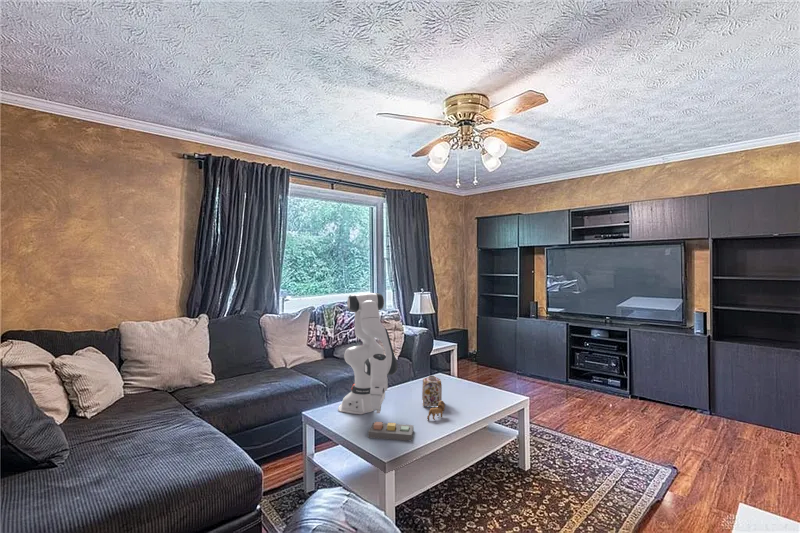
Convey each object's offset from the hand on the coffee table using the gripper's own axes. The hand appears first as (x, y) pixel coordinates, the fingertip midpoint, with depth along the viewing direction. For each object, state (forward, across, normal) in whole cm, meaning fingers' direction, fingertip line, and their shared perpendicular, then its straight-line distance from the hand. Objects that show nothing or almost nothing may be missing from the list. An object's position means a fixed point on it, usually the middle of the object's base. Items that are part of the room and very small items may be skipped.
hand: (378, 412), depth 205 cm
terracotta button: (+10, 0, 0) cm, 10 cm away
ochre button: (+10, 0, +7) cm, 12 cm away
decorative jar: (+11, -48, +26) cm, 56 cm away
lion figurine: (+11, -25, +29) cm, 40 cm away
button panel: (+11, 0, +7) cm, 13 cm away
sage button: (+11, 0, +14) cm, 18 cm away
